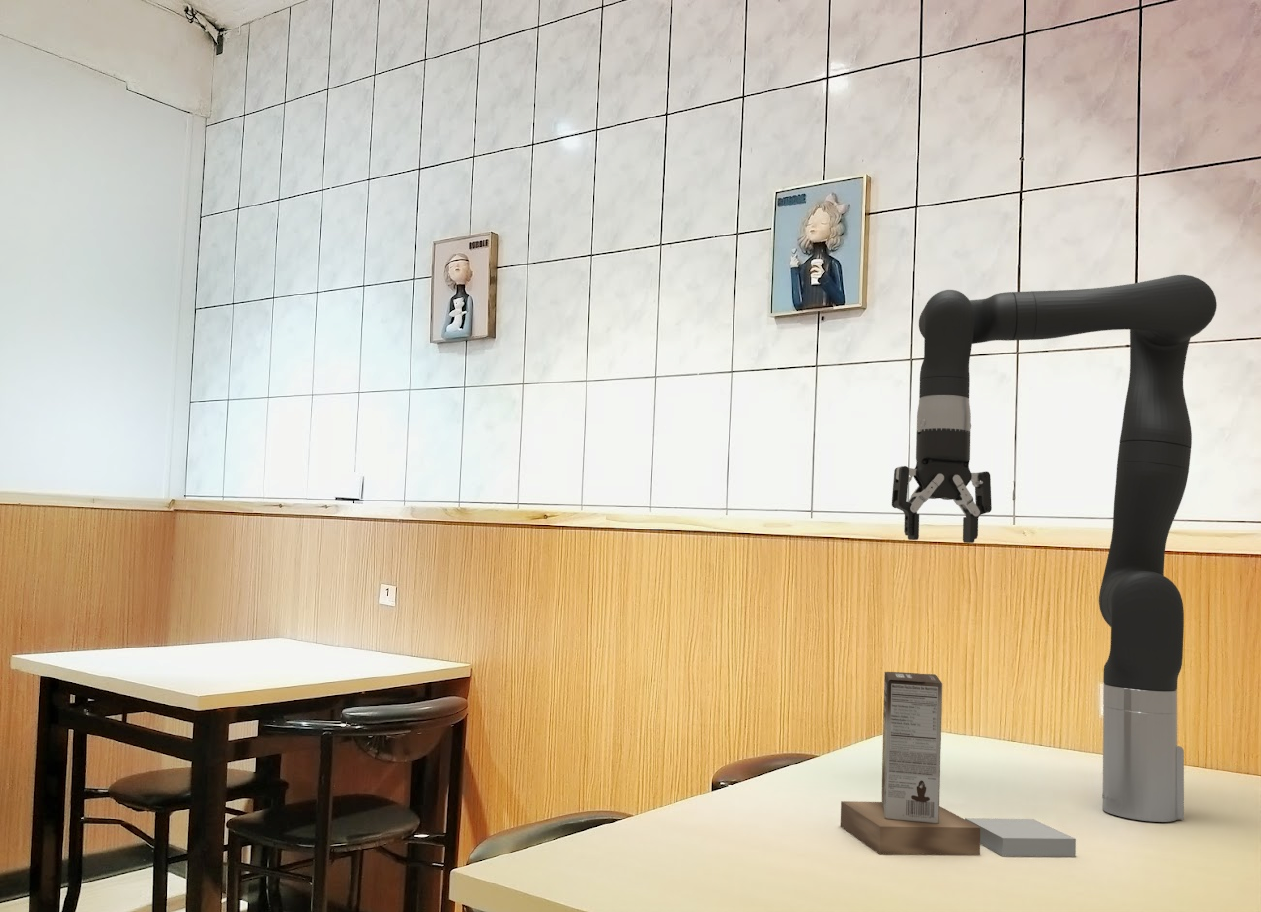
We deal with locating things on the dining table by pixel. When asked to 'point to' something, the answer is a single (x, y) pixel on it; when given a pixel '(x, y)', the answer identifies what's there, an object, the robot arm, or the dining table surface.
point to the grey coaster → (1023, 838)
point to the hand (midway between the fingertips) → (940, 541)
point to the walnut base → (909, 831)
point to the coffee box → (911, 746)
